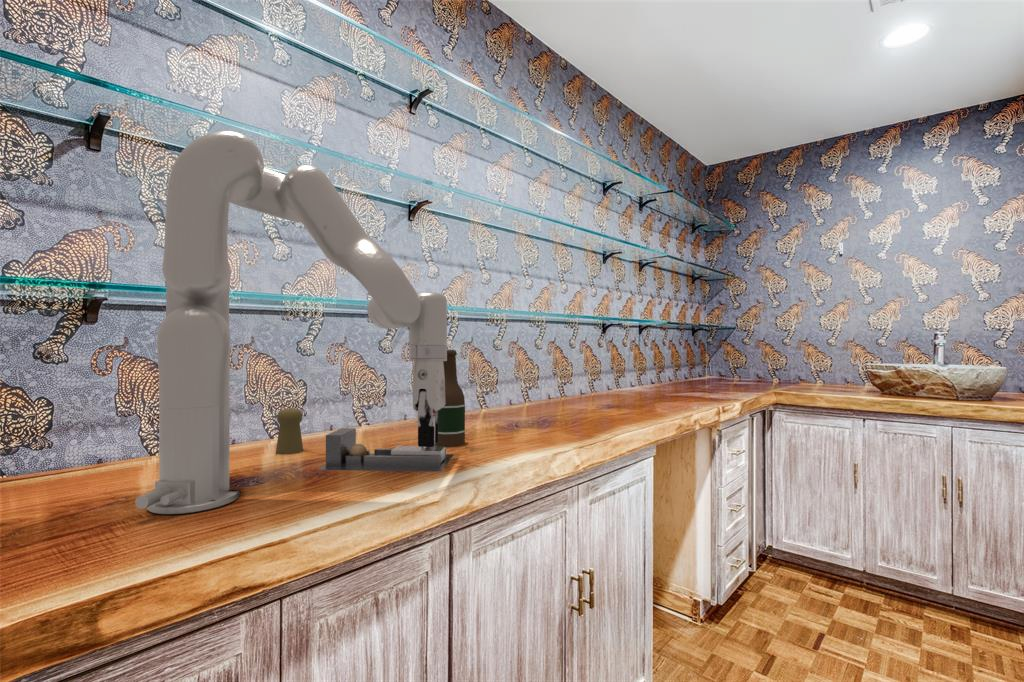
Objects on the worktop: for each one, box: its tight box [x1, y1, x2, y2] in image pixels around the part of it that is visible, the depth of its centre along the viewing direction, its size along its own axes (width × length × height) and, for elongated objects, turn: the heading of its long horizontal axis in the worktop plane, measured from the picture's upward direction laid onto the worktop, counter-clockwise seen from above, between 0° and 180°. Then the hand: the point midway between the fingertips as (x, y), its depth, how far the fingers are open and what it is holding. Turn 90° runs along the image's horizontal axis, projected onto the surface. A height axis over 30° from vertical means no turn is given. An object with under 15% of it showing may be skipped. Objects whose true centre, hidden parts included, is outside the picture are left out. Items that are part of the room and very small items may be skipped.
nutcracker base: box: [316, 427, 454, 473], centre depth 99 cm, size 14×24×8 cm, turn 87°
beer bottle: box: [435, 349, 466, 448], centre depth 117 cm, size 8×8×24 cm
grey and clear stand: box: [391, 411, 446, 463], centre depth 99 cm, size 4×10×10 cm, turn 87°
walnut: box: [349, 443, 368, 460], centre depth 100 cm, size 4×4×4 cm
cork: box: [274, 407, 304, 456], centre depth 109 cm, size 6×6×11 cm
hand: (428, 443), depth 99 cm, fingers closed on grey and clear stand, 2 cm apart
